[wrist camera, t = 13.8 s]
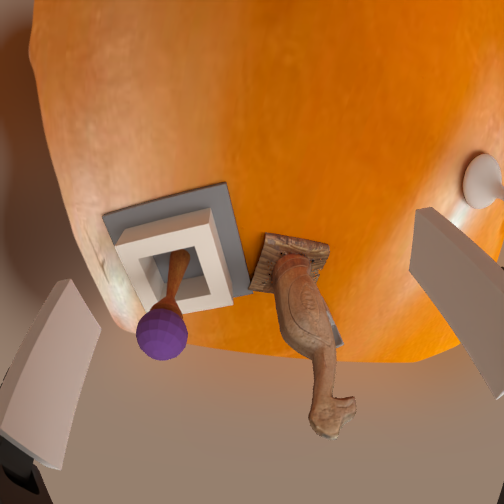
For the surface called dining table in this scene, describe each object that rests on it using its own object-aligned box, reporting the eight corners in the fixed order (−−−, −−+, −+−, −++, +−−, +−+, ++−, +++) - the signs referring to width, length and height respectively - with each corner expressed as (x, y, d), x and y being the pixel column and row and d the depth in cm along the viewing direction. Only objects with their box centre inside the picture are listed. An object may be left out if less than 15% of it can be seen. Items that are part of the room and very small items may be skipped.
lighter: (313, 299, 55) (324, 329, 48) (321, 295, 55) (333, 324, 48) (325, 321, 59) (336, 350, 52) (333, 317, 58) (345, 346, 51)
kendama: (170, 276, 49) (147, 373, 32) (156, 246, 46) (121, 339, 29) (203, 267, 48) (193, 366, 31) (190, 236, 45) (170, 330, 28)
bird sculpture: (308, 293, 55) (362, 454, 27) (246, 286, 53) (266, 465, 25) (327, 240, 49) (415, 406, 22) (259, 230, 48) (302, 420, 20)
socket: (104, 214, 43) (89, 233, 38) (226, 181, 43) (226, 197, 37) (148, 309, 53) (141, 334, 48) (252, 289, 53) (256, 314, 47)
